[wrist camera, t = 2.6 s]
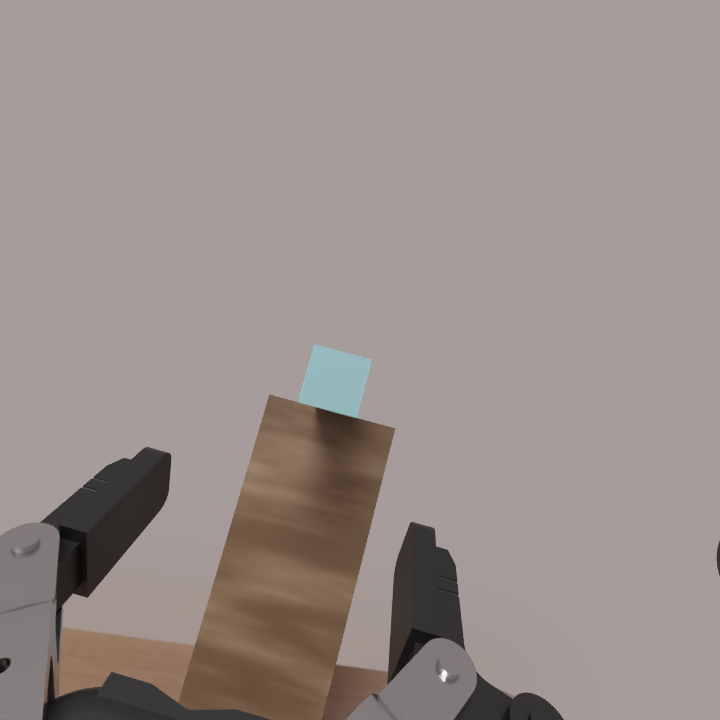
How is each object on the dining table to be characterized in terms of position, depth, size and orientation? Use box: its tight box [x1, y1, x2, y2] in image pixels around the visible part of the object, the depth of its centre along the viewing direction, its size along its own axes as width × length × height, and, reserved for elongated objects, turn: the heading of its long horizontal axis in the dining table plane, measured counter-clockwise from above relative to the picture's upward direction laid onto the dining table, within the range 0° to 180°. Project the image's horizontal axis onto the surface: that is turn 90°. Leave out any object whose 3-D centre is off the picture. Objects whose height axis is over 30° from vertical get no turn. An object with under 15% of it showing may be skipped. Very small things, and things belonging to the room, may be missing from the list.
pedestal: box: [178, 395, 395, 720], centre depth 38 cm, size 16×10×32 cm, turn 179°
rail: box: [298, 345, 372, 418], centre depth 35 cm, size 26×3×3 cm, turn 1°
